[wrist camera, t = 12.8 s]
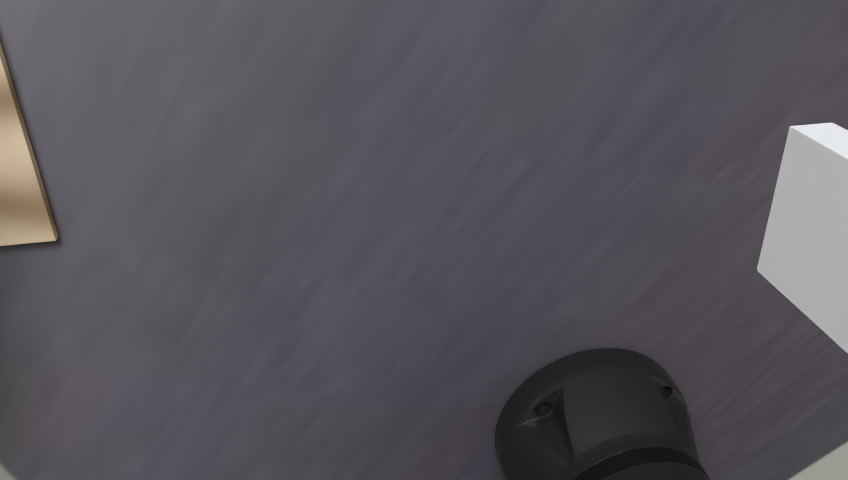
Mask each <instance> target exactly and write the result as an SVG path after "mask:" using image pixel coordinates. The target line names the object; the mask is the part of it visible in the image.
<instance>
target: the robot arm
mask: <svg viewBox="0 0 848 480" xmlns="http://www.w3.org/2000/svg"><path fill="white" fill-rule="evenodd" d="M757 271H758V272H759V273H760V274H762V275H763V276H764V277H765V278H766V279H767V280H768V281H769V282H770V283H771V284H772V285H774V286H775V287H776V288H777V289H778V290H779V291H780V292H781V293H782V294H783V295H784V296H786V297H787V298H788V299H789V300H790V301H791V302H792V303H793V304H794V305H795V306H797V307H798V308H799V309H800V310H801V311H802V312H803V313H804V314H805V315H806V316H807V317H809V318H810V319H811V320H812V321H813V322H814V323H815V324H816V325H817V326H818V327H819V328H821V329H822V330H823V331H824V332H825V333H826V334H827V335H828V336H829V337H830V338H831V339H833V340H834V341H835V342H836V343H837V344H838V345H839V346H840V347H841V348H842V349H843V350H845V351H846V352H847V353H848V130H846V129H844V128H842V127H840V126H838V125H836V124H834V123H823V124H811V125H800V126H790V128H789V132H788V136H787V141H786V145H785V150H784V154H783V158H782V163H781V167H780V171H779V176H778V180H777V184H776V189H775V193H774V197H773V202H772V206H771V211H770V215H769V219H768V224H767V228H766V232H765V237H764V241H763V245H762V250H761V254H760V258H759V263H758V267H757ZM495 446H496V452H497V455H498V458H499V461H500V464H501V467H502V470H503V472H504V475H505V477H506V479H507V480H710V478H709V477H708V475H707V474H706V472H705V470H704V469H703V467H702V466H701V464H700V463H699V459H698V454H697V450H696V445H695V441H694V436H693V432H692V427H691V423H690V418H689V414H688V410H687V406H686V403H685V401H684V398H683V396H682V394H681V392H680V391H679V389H678V388H677V386H676V385H675V383H674V382H673V381H672V379H671V378H670V376H669V375H668V374H667V372H666V371H665V370H664V369H663V368H662V367H661V366H660V365H659V364H658V363H657V362H655V361H654V360H652V359H650V358H649V357H647V356H644V355H642V354H639V353H637V352H633V351H629V350H624V349H611V348H608V349H594V350H588V351H583V352H579V353H575V354H572V355H569V356H566V357H564V358H561V359H559V360H557V361H555V362H553V363H551V364H549V365H547V366H545V367H544V368H542V369H540V370H539V371H537V372H536V373H535V374H533V375H532V376H531V377H529V378H528V379H527V380H526V381H525V382H524V383H523V384H522V385H521V386H520V387H519V388H518V389H517V390H516V391H515V392H514V393H513V395H512V396H511V397H510V398H509V400H508V401H507V403H506V405H505V406H504V408H503V410H502V412H501V414H500V417H499V420H498V423H497V426H496V432H495Z"/></svg>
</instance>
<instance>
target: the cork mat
mask: <svg viewBox="0 0 848 480" xmlns="http://www.w3.org/2000/svg"><path fill="white" fill-rule="evenodd" d="M57 238H58V233H57V229H56V226H55V223H54V219H53V216H52V213H51V209H50V206H49V203H48V199H47V196H46V193H45V189H44V186H43V183H42V179H41V176H40V173H39V169H38V166H37V163H36V159H35V156H34V153H33V149H32V146H31V143H30V139H29V136H28V133H27V129H26V126H25V123H24V119H23V116H22V113H21V109H20V106H19V103H18V99H17V96H16V93H15V89H14V86H13V83H12V79H11V76H10V73H9V69H8V66H7V63H6V59H5V56H4V53H3V49H2V46H1V43H0V246H5V245H15V244H26V243H37V242H48V241H56V240H57Z"/></svg>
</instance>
